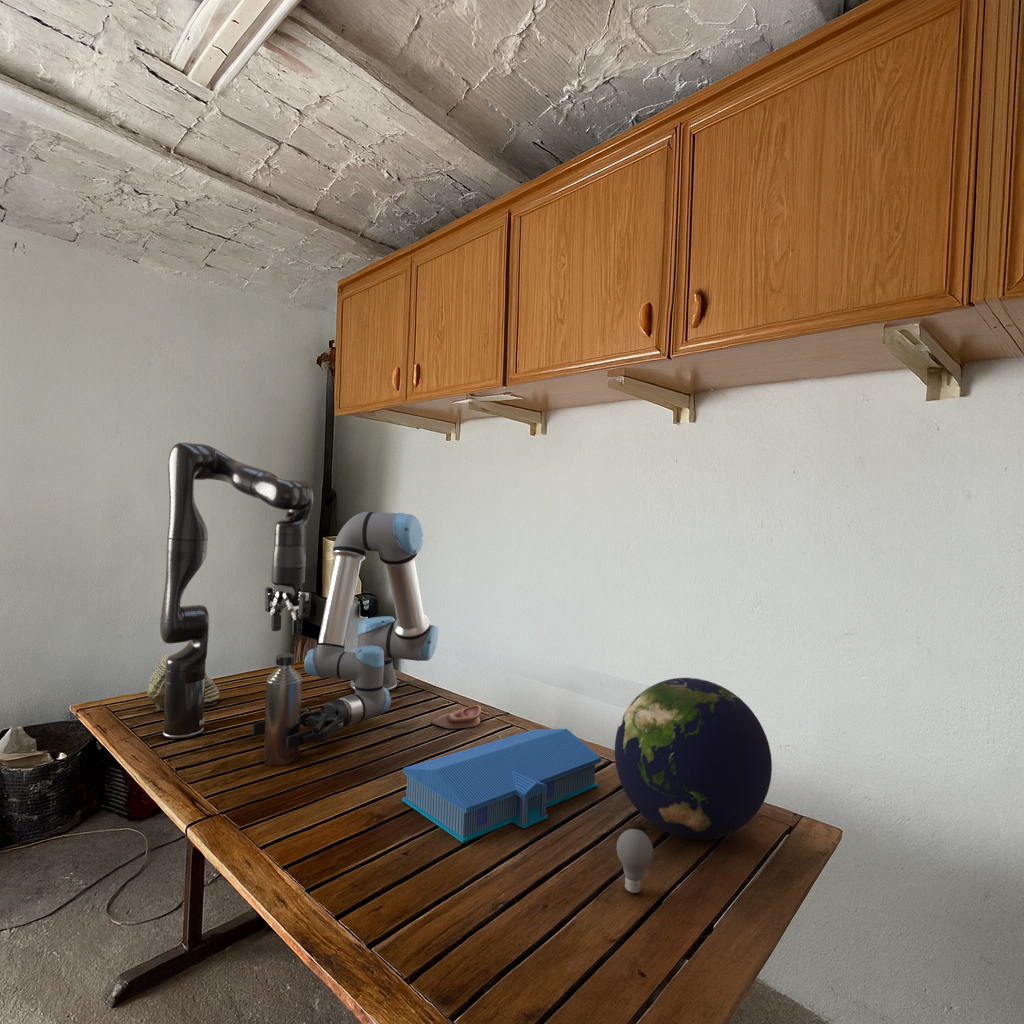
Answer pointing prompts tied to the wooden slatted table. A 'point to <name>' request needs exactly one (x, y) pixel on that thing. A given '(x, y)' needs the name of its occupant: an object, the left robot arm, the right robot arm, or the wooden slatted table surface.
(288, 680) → the bottle
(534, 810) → the model building
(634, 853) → the light bulb
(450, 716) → the anatomical model
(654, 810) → the globe
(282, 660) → the cap
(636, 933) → the wooden slatted table surface
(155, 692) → the fossil
